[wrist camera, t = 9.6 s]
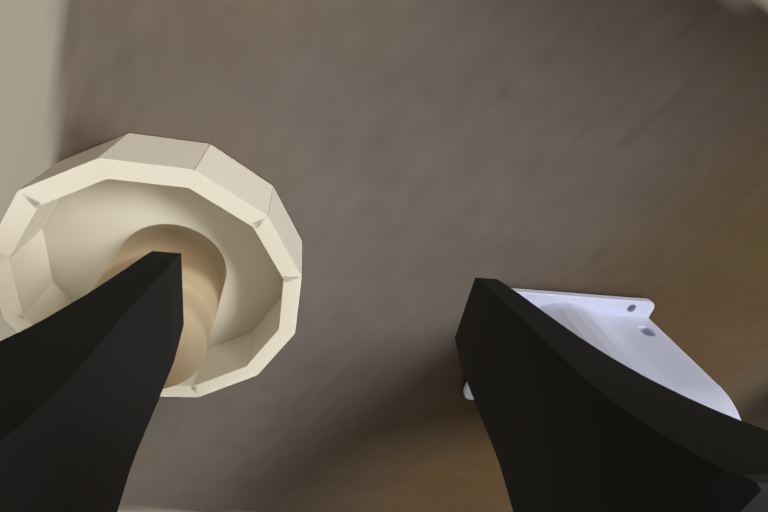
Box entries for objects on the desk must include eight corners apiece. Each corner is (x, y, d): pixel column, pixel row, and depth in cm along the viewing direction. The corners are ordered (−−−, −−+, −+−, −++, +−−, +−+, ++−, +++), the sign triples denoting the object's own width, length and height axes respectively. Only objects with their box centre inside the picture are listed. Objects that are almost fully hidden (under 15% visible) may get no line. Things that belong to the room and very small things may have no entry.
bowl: (311, 157, 19) (312, 183, 16) (289, 355, 24) (287, 398, 22) (8, 116, 16) (-47, 140, 14) (57, 346, 22) (23, 394, 19)
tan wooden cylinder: (224, 226, 19) (202, 294, 15) (228, 309, 21) (209, 389, 17) (110, 221, 18) (52, 291, 14) (127, 308, 20) (80, 392, 16)
